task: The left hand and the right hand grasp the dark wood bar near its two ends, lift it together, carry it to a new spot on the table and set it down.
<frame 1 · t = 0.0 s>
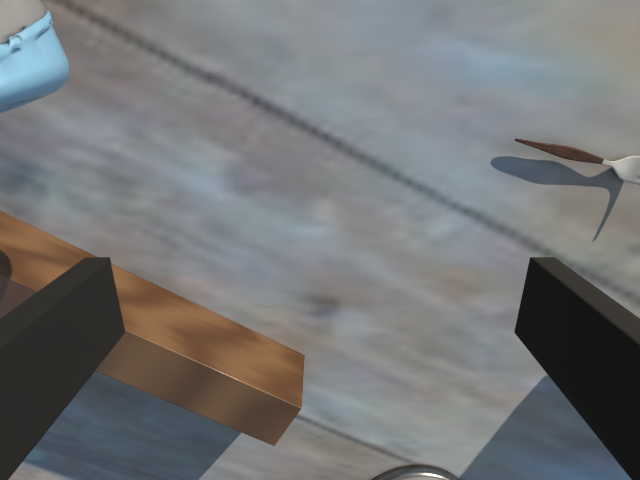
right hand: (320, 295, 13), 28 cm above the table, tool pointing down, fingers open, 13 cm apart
fork: (587, 157, 39), on the table
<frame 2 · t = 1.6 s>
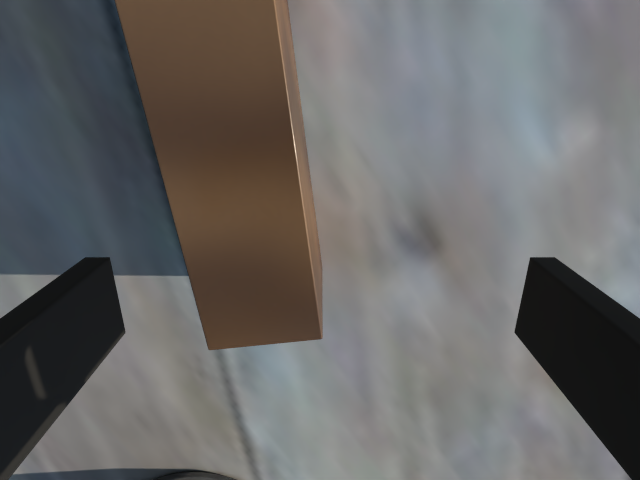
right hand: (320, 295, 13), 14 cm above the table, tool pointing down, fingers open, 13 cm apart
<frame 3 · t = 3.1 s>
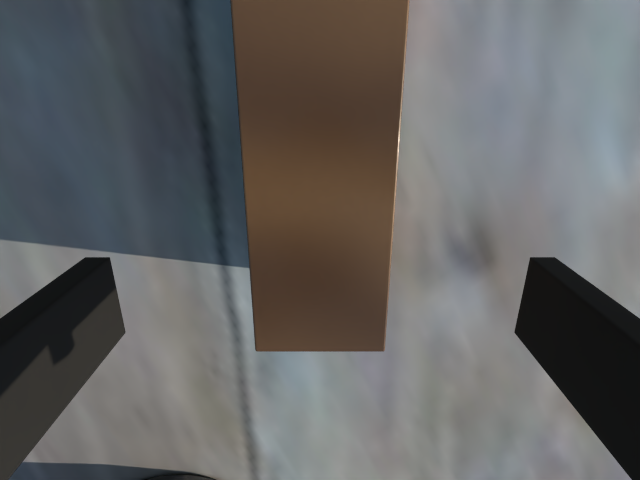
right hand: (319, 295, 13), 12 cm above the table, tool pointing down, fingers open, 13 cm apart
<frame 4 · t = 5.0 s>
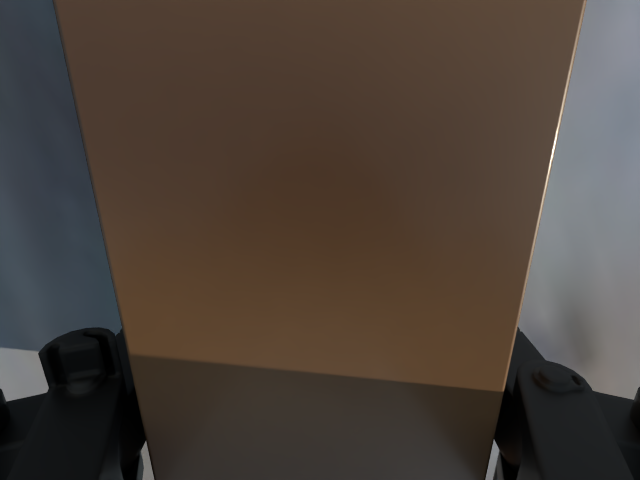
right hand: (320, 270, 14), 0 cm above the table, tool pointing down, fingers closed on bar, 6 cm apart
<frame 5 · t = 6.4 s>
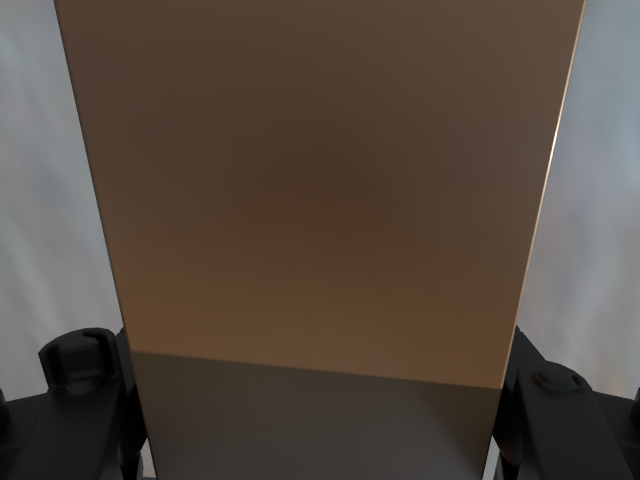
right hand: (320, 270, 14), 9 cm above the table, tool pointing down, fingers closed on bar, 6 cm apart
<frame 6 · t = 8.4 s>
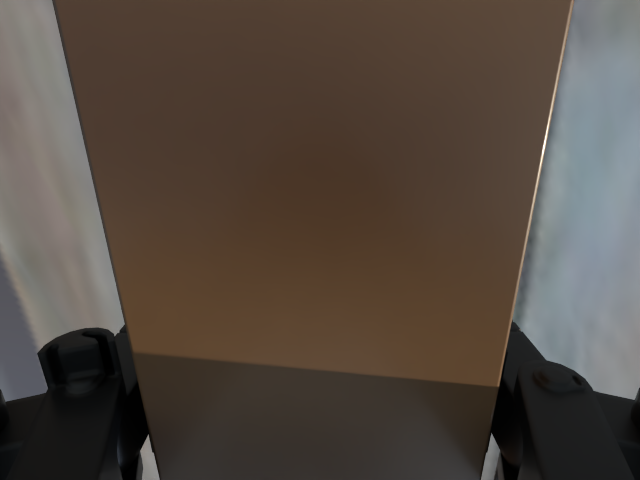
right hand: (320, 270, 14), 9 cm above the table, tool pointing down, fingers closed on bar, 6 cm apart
when the left hand's fingers open (1 cm above the table, at t = 10.0 s): bar stays where it is, on the table.
when the right hand's fingers open (1 cm above the table, at t = 10.0 s): bar stays where it is, on the table.
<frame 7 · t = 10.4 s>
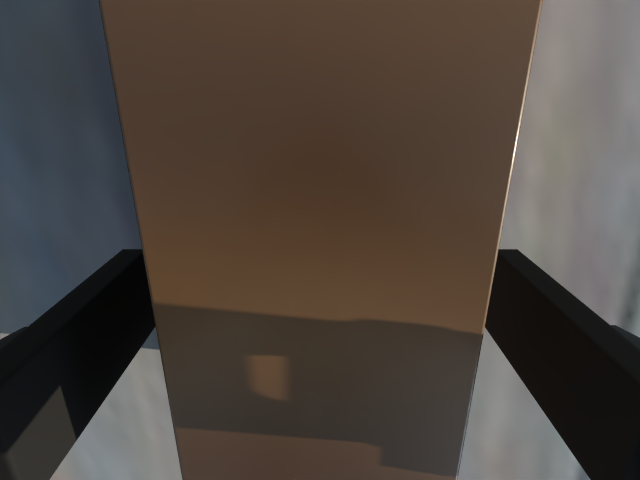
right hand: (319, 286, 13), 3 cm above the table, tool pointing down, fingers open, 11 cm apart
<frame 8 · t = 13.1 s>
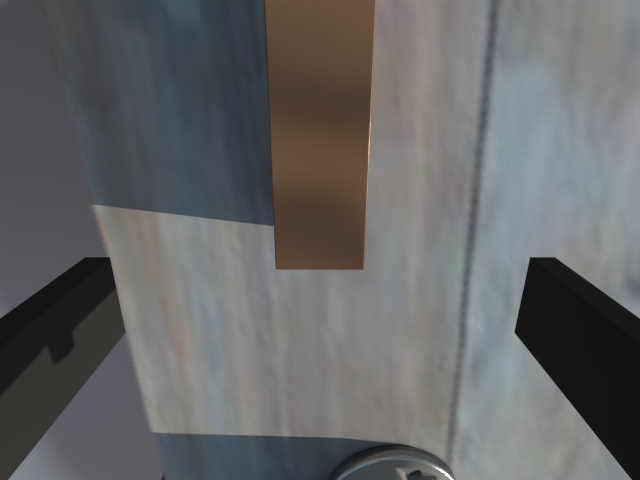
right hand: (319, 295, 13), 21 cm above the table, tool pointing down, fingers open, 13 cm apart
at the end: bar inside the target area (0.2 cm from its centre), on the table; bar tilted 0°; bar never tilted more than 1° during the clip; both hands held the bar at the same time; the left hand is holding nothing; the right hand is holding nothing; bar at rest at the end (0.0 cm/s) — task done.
